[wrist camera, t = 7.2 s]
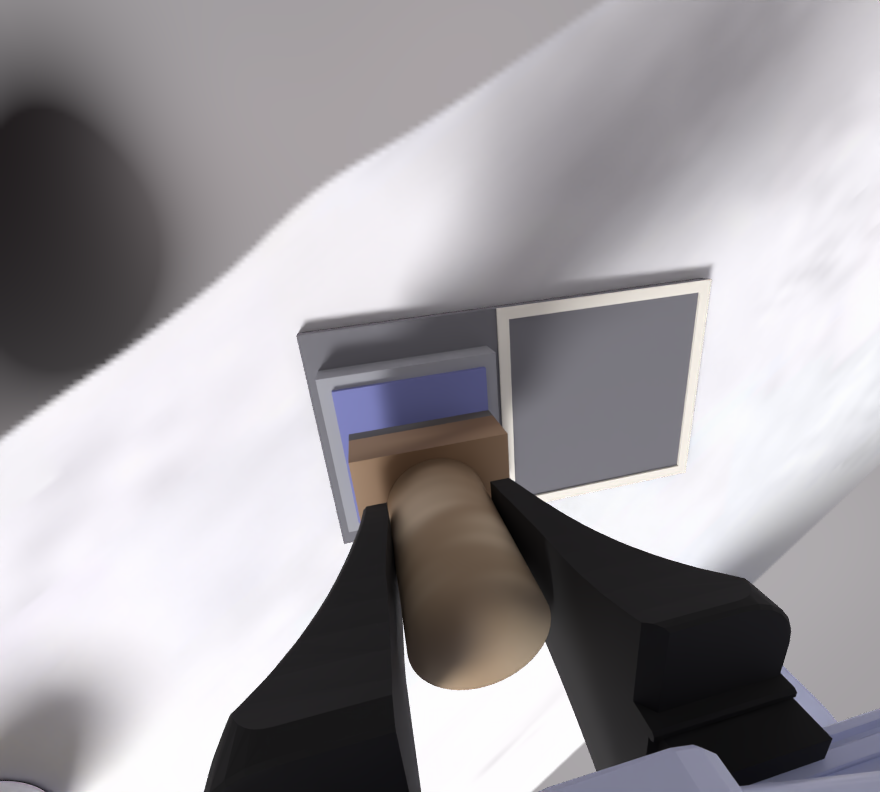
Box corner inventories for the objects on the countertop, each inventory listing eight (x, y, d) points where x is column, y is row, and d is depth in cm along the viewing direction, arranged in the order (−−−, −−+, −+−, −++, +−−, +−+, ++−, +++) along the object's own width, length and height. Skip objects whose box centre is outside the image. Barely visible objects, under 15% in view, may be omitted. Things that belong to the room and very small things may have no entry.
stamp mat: (701, 278, 19) (736, 282, 17) (677, 466, 23) (704, 485, 21) (298, 333, 16) (291, 344, 15) (344, 536, 20) (343, 565, 18)
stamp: (488, 409, 15) (591, 536, 9) (494, 502, 16) (585, 669, 10) (348, 434, 14) (346, 593, 8) (367, 528, 16) (379, 728, 9)
